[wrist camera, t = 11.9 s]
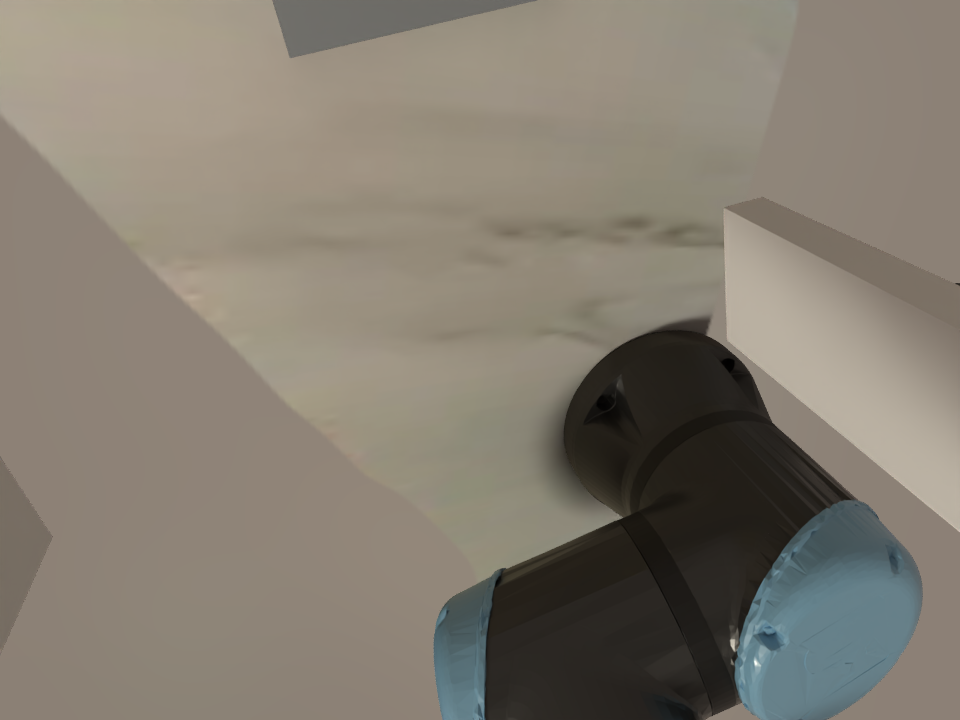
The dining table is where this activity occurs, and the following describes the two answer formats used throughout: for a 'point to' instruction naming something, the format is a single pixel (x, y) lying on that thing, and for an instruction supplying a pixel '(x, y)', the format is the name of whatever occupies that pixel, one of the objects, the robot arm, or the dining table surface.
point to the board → (366, 19)
